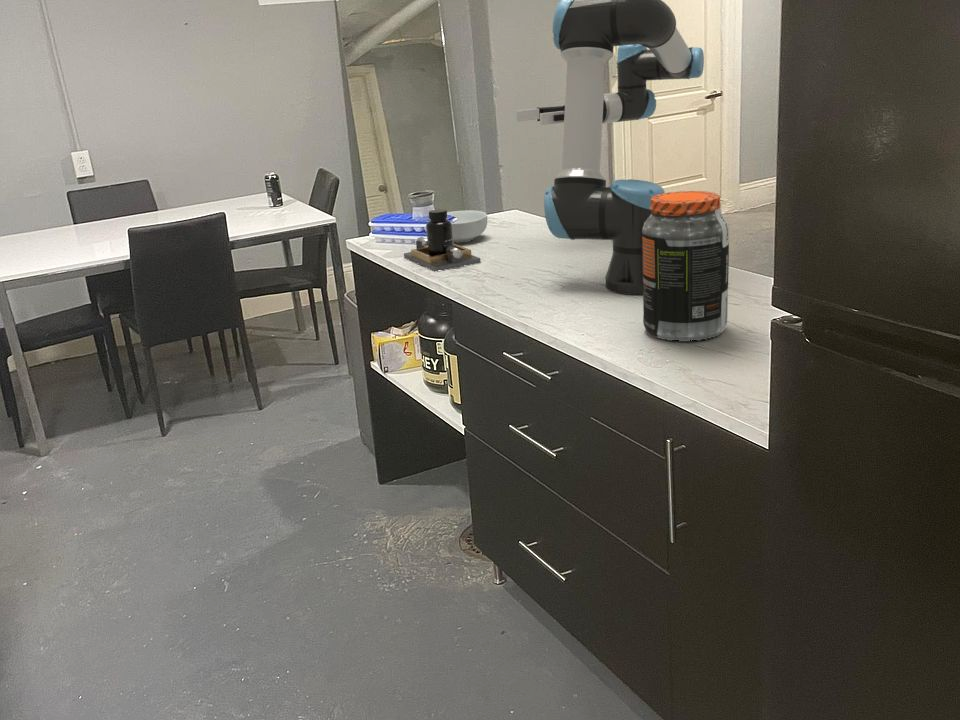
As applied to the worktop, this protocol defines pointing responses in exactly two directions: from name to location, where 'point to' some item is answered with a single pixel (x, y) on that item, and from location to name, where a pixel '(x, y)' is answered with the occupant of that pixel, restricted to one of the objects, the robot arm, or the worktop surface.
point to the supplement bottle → (438, 232)
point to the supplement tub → (685, 266)
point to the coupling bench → (441, 256)
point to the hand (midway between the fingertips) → (528, 117)
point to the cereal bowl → (468, 225)
